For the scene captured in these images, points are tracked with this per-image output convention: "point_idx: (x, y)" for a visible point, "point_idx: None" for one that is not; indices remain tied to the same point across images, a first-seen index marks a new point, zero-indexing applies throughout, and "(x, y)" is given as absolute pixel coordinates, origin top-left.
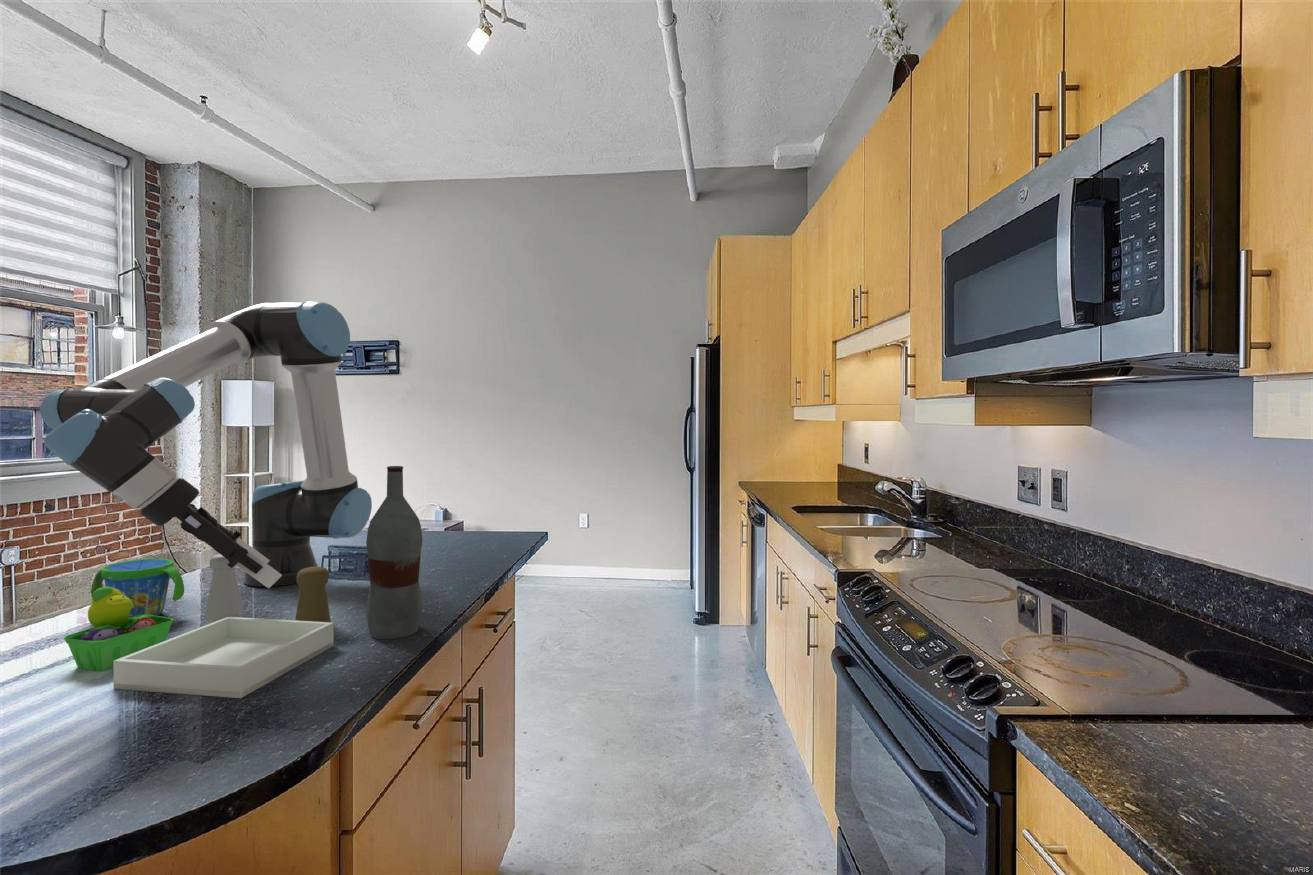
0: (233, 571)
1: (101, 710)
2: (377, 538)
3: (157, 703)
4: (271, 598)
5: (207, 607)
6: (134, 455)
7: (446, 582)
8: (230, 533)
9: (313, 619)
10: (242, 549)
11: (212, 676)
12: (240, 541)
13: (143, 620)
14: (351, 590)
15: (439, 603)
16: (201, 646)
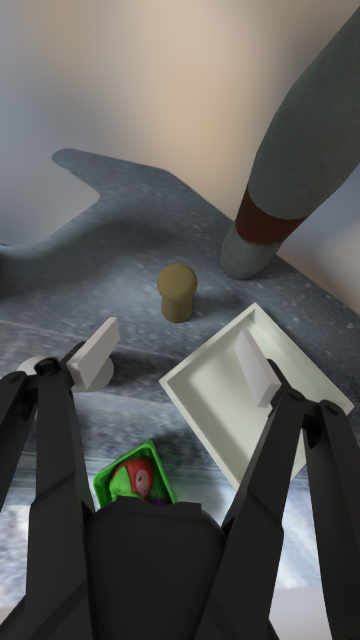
0: None
1: (293, 505)
2: (344, 177)
3: None
4: (39, 311)
5: (89, 391)
6: None
7: (124, 181)
8: (65, 391)
9: (192, 306)
10: (344, 414)
11: None
12: (82, 363)
13: (135, 483)
14: (78, 245)
15: (185, 210)
16: (188, 408)
